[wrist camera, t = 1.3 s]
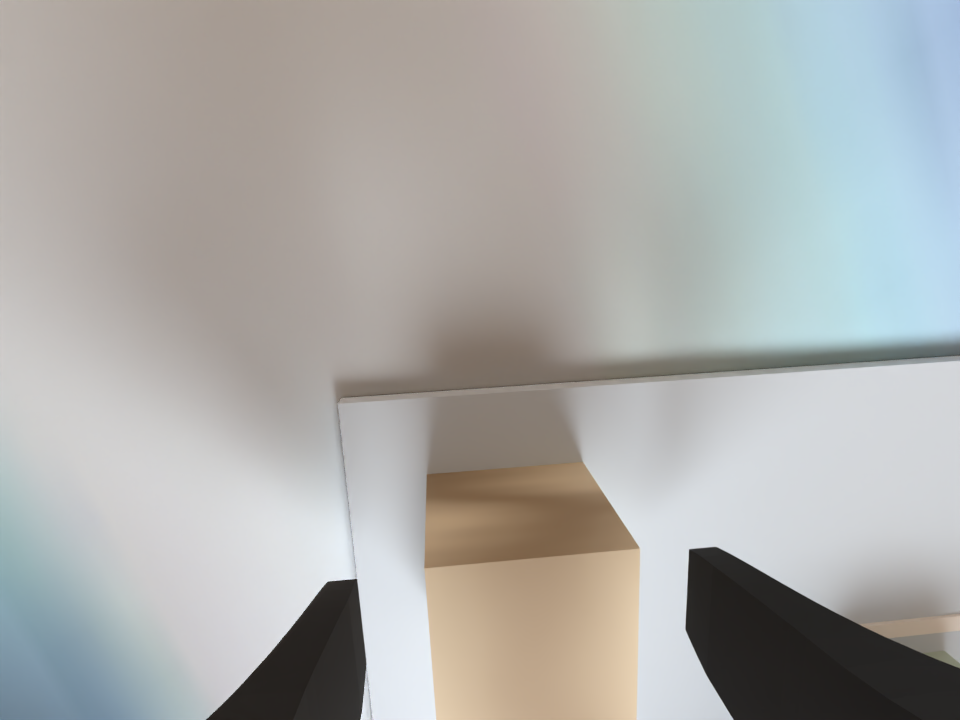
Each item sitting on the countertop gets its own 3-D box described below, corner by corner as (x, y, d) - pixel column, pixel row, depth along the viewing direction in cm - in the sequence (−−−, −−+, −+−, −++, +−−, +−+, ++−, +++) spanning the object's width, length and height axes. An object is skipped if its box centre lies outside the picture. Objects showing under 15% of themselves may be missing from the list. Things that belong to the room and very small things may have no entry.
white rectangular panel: (393, 883, 17) (392, 906, 17) (340, 397, 14) (337, 405, 13) (983, 806, 19) (1001, 824, 18) (1077, 347, 15) (1102, 352, 15)
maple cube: (437, 612, 15) (438, 748, 11) (426, 474, 14) (424, 568, 10) (583, 598, 15) (636, 725, 11) (582, 462, 14) (640, 548, 10)
